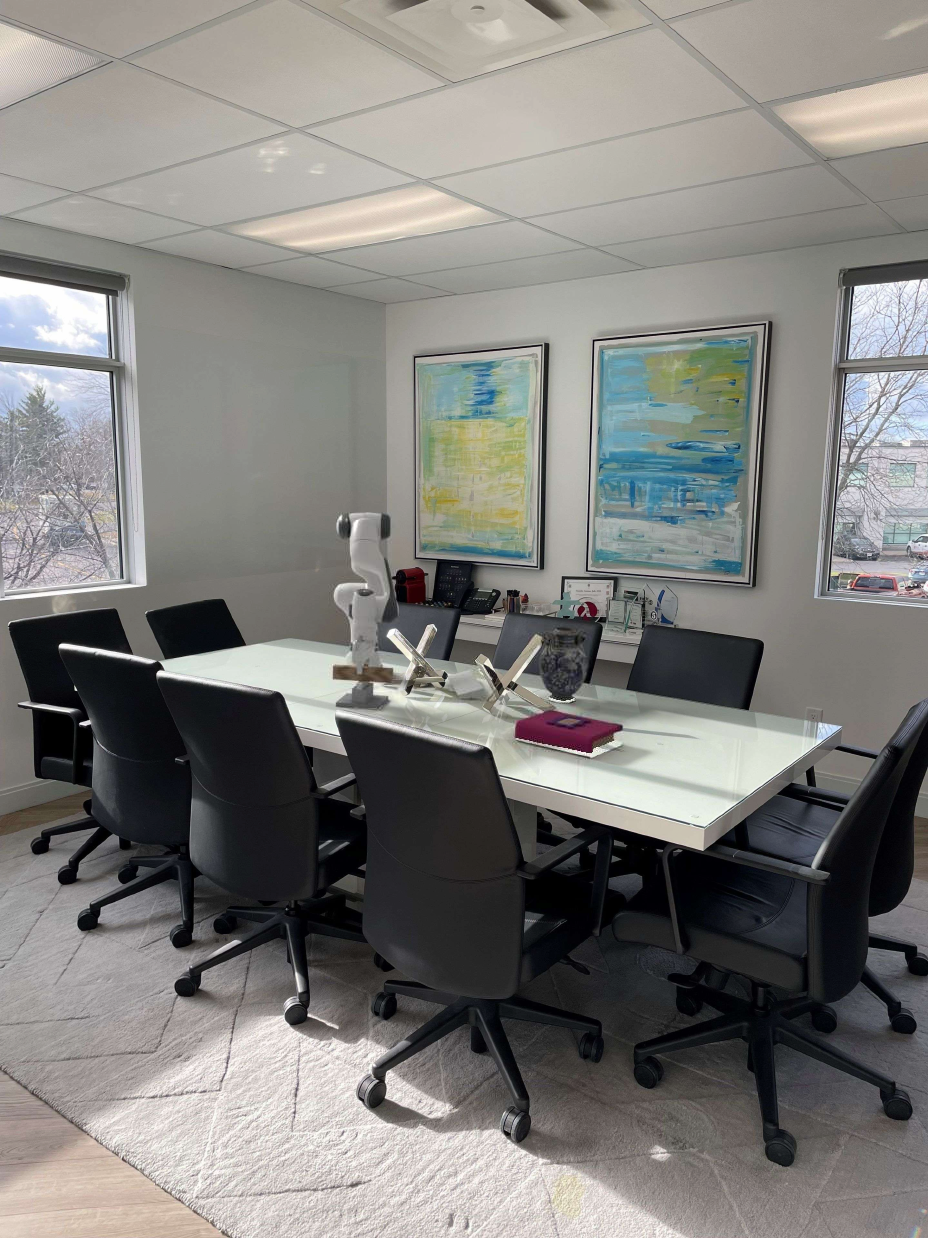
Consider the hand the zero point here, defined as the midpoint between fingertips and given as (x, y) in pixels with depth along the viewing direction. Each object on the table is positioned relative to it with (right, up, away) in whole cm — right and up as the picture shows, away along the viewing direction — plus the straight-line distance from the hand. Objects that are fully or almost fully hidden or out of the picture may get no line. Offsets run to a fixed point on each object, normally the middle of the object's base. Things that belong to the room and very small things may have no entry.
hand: (363, 671), depth 328 cm
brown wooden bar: (0, -3, 0) cm, 3 cm away
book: (+70, -21, -42) cm, 85 cm away
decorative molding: (+38, -10, +30) cm, 49 cm away
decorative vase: (+75, -12, +17) cm, 77 cm away
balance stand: (0, -12, +2) cm, 12 cm away
